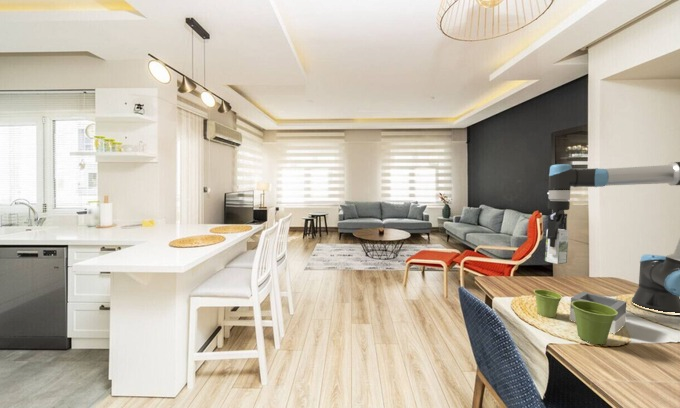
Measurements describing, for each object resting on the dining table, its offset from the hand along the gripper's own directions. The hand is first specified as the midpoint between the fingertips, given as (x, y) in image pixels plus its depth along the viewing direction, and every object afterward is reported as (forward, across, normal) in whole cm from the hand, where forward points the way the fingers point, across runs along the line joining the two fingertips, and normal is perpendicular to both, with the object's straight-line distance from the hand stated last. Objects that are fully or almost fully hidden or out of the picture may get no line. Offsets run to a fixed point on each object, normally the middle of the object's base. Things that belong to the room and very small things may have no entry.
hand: (556, 253), depth 128 cm
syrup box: (+4, 0, 0) cm, 4 cm away
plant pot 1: (+23, +15, +3) cm, 28 cm away
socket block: (+23, +7, +16) cm, 29 cm away
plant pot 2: (+23, +25, +20) cm, 39 cm away
